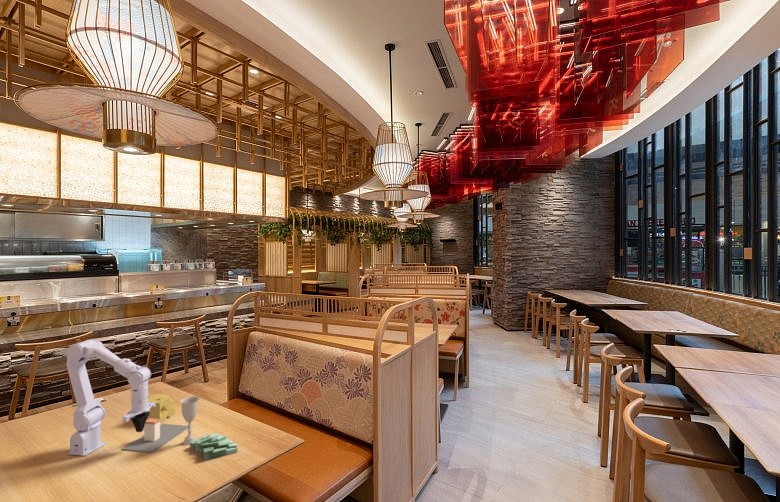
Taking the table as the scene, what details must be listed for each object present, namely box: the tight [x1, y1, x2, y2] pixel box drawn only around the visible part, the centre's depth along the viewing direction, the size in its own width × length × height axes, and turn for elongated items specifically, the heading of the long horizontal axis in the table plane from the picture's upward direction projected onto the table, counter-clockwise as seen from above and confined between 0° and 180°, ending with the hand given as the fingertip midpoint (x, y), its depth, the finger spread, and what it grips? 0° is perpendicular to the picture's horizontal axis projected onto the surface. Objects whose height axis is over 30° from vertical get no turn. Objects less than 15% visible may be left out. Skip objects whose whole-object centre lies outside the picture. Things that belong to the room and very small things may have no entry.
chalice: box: [179, 395, 200, 446], centre depth 156 cm, size 7×7×18 cm
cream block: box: [143, 418, 161, 441], centre depth 158 cm, size 3×5×8 cm, turn 82°
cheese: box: [147, 393, 176, 424], centre depth 178 cm, size 10×11×10 cm
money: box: [189, 432, 238, 462], centre depth 151 cm, size 20×16×5 cm
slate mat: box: [121, 423, 188, 454], centre depth 160 cm, size 22×14×1 cm, turn 172°
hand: (139, 431), depth 151 cm, fingers closed
